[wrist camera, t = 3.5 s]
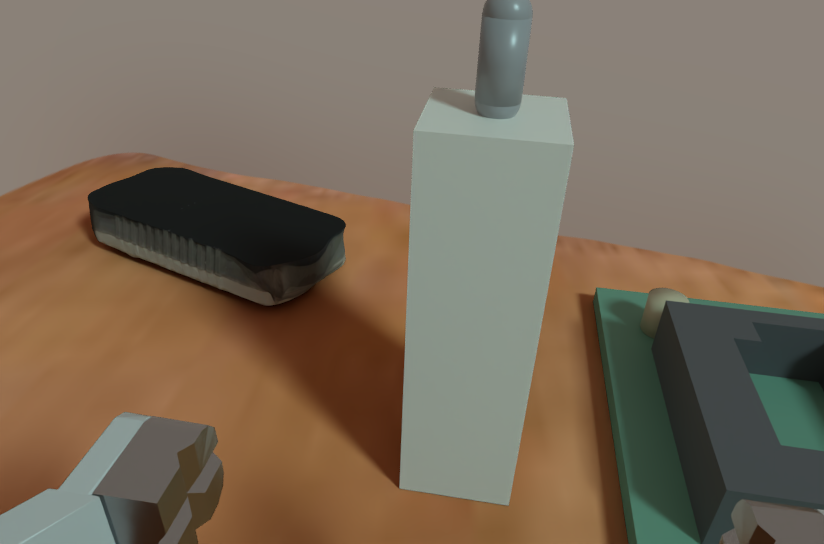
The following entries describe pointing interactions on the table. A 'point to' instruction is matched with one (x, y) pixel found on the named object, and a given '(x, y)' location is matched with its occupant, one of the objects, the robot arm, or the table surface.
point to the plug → (479, 265)
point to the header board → (650, 423)
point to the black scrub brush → (219, 233)
